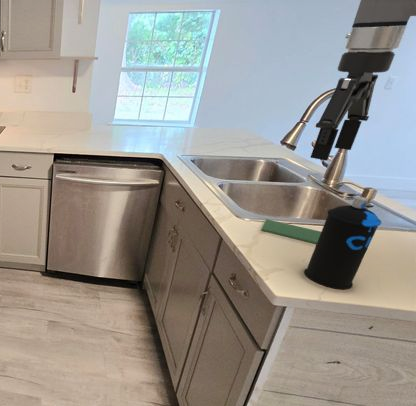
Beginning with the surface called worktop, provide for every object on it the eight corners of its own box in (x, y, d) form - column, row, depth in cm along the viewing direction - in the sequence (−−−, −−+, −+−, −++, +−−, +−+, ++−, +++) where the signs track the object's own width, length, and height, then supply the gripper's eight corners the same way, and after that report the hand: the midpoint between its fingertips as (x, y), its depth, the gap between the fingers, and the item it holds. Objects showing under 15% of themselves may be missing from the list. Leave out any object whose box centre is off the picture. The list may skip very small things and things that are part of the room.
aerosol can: (295, 273, 86) (325, 194, 78) (317, 265, 88) (348, 188, 80) (338, 293, 78) (375, 209, 71) (360, 284, 81) (399, 202, 73)
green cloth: (327, 235, 101) (328, 233, 101) (325, 246, 96) (326, 244, 96) (265, 220, 110) (266, 218, 110) (261, 230, 105) (261, 228, 105)
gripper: (364, 49, 82) (331, 141, 90) (320, 53, 70) (286, 159, 78) (414, 48, 76) (372, 148, 84) (374, 53, 64) (331, 167, 73)
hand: (331, 153), depth 81 cm, fingers open, 13 cm apart
